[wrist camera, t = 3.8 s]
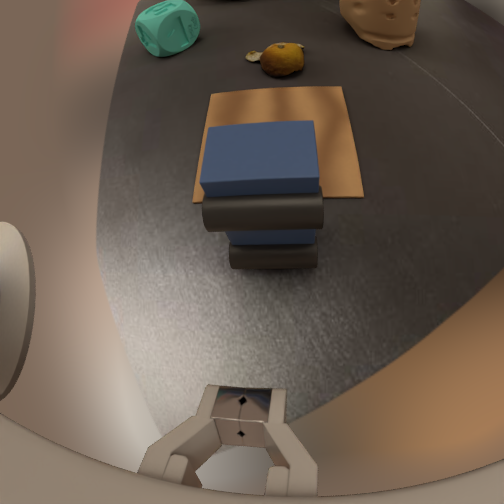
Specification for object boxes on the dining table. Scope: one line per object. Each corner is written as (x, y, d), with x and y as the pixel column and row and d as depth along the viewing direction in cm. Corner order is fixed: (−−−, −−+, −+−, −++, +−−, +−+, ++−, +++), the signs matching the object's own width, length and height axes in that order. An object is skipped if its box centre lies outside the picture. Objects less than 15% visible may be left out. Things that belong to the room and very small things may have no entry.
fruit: (299, 45, 37) (297, 25, 34) (321, 73, 34) (320, 50, 31) (244, 56, 38) (240, 36, 34) (259, 85, 34) (254, 63, 31)
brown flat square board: (193, 203, 29) (192, 201, 29) (211, 95, 35) (211, 94, 35) (363, 198, 27) (364, 196, 26) (341, 88, 33) (341, 86, 32)
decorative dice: (165, 61, 40) (149, 23, 33) (145, 51, 43) (129, 18, 36) (205, 39, 42) (193, 0, 34) (181, 30, 44) (169, -3, 37)
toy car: (237, 278, 26) (191, 207, 15) (241, 210, 28) (206, 115, 17) (315, 277, 25) (326, 202, 14) (312, 208, 27) (315, 108, 16)
